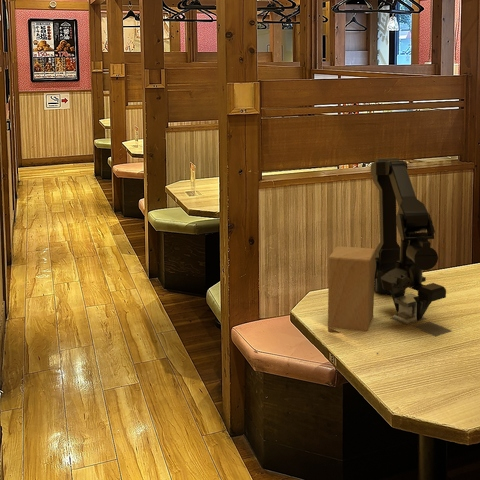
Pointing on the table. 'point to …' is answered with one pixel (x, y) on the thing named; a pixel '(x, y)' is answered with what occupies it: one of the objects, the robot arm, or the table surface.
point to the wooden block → (351, 288)
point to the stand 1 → (408, 323)
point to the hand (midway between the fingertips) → (408, 315)
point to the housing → (406, 309)
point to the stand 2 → (432, 328)
